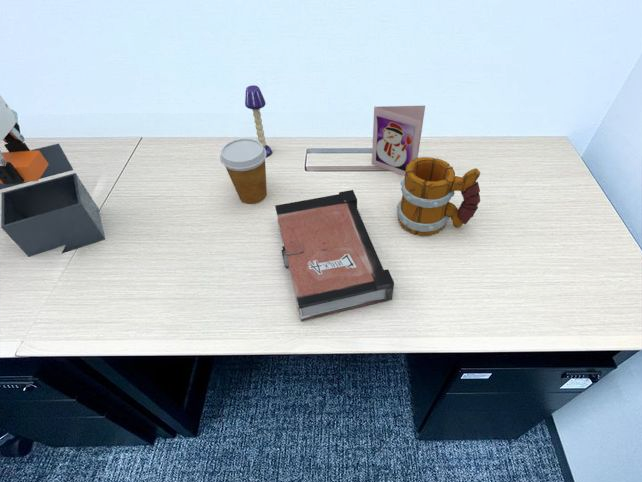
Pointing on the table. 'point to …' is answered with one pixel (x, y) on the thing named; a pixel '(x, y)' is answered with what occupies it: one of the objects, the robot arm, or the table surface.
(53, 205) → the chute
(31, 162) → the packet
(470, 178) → the mug
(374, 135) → the greeting card
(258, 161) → the disposable coffee cup
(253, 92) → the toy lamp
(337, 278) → the book
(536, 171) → the table surface
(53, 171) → the flap
